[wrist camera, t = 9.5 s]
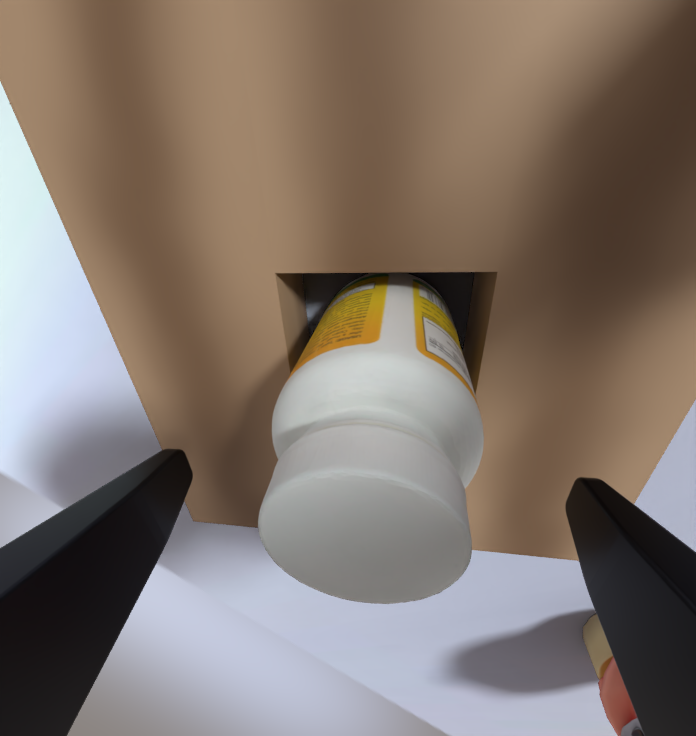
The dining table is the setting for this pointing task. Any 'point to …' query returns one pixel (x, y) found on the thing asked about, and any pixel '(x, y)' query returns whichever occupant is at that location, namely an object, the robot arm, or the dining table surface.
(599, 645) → the cake
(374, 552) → the supplement bottle
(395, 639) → the dining table surface
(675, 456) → the dining table surface
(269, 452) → the socket block
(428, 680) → the dining table surface
